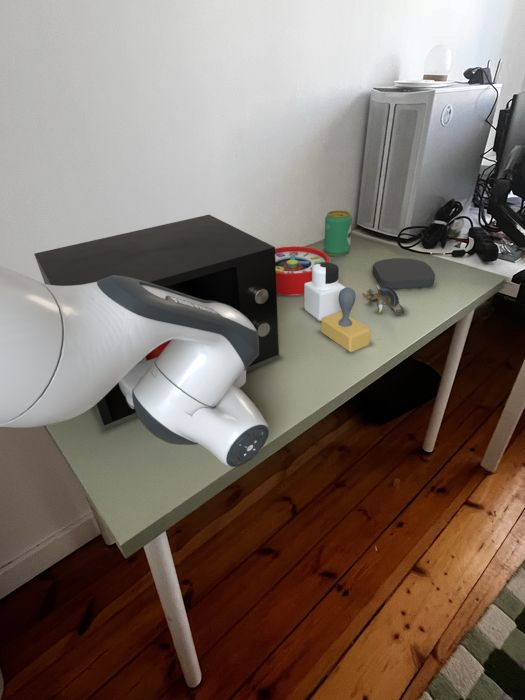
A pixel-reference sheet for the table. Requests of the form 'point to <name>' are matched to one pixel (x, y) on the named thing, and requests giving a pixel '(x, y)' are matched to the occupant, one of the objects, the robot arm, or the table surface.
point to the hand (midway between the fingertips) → (164, 346)
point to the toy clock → (295, 268)
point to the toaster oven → (179, 278)
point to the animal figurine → (385, 299)
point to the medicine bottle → (323, 291)
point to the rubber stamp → (346, 324)
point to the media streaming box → (403, 273)
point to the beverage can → (337, 232)
